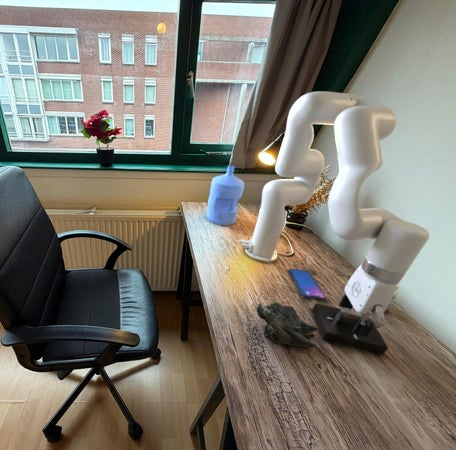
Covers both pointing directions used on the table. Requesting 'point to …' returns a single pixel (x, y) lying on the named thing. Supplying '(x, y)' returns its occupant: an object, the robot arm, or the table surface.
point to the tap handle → (349, 317)
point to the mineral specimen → (285, 325)
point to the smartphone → (307, 284)
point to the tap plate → (346, 331)
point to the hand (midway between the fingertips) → (351, 319)
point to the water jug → (224, 198)
